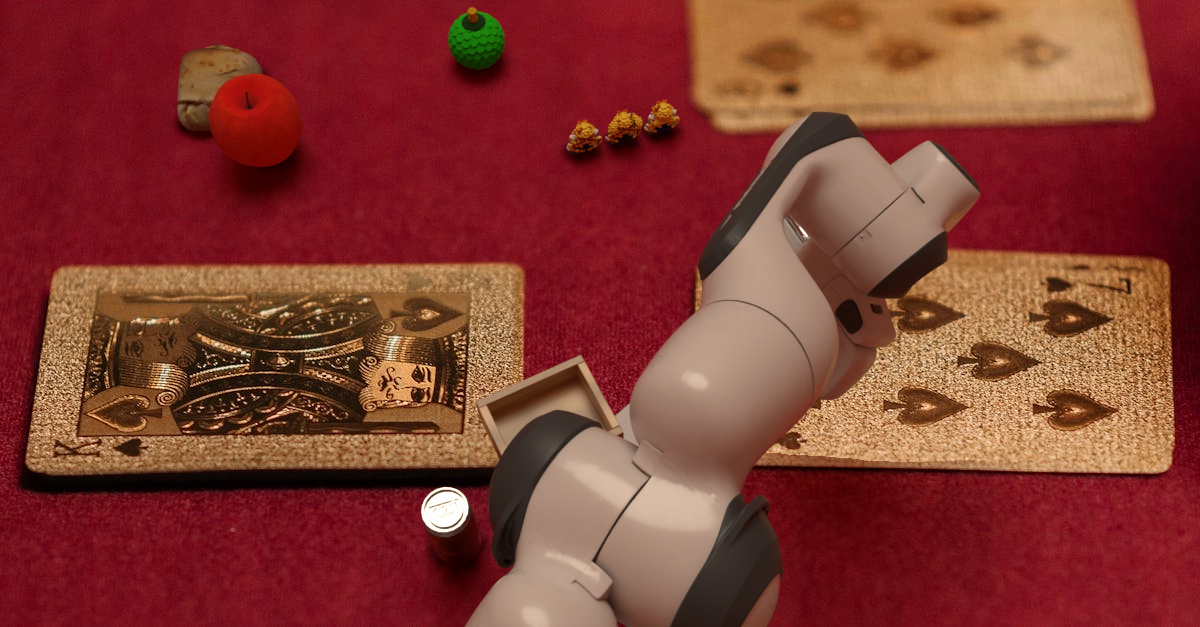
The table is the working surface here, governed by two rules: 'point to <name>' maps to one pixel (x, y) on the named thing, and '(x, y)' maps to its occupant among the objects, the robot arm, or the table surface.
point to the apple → (255, 120)
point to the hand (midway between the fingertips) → (742, 353)
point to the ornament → (476, 40)
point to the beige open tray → (545, 402)
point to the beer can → (451, 526)
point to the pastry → (208, 81)
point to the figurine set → (623, 128)
